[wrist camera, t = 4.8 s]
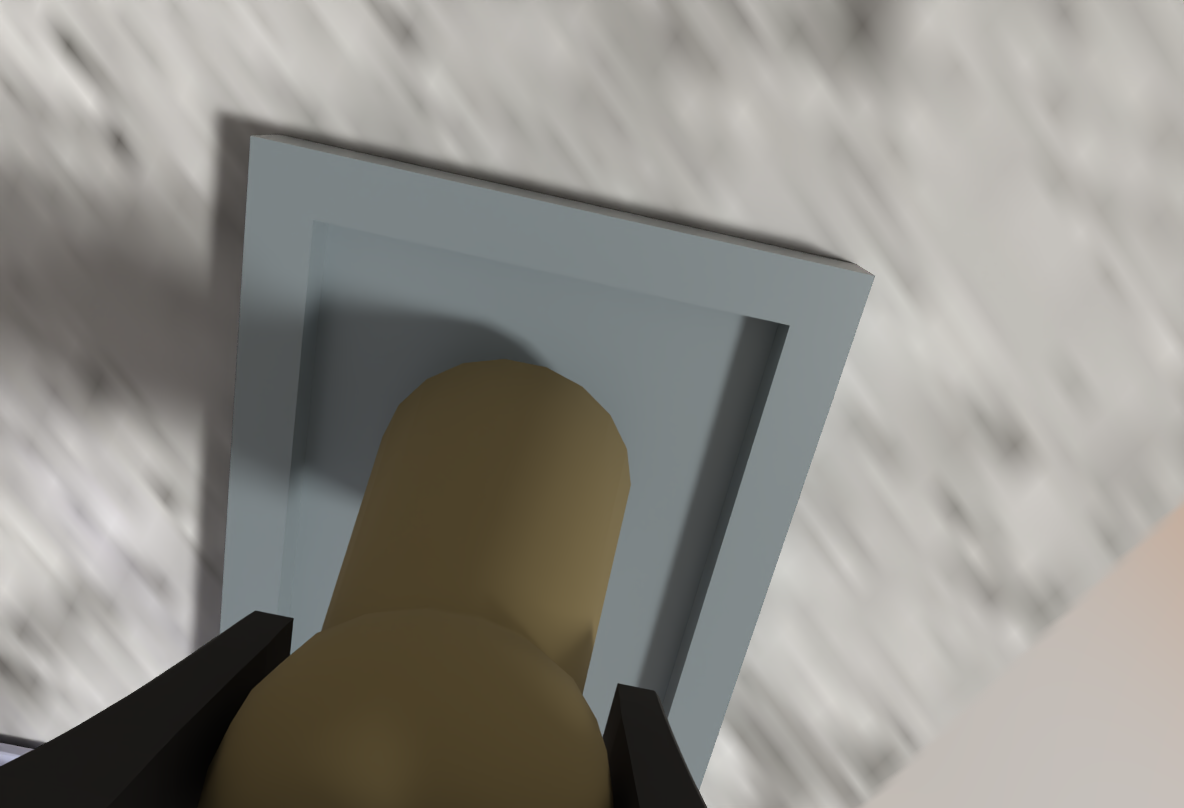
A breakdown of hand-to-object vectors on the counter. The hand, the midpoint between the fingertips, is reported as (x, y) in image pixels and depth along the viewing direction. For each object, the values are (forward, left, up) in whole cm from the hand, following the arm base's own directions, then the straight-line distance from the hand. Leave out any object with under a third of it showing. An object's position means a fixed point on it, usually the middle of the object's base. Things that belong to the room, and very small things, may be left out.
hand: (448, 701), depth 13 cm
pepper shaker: (+1, 0, -7) cm, 7 cm away
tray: (-3, 0, -9) cm, 10 cm away
